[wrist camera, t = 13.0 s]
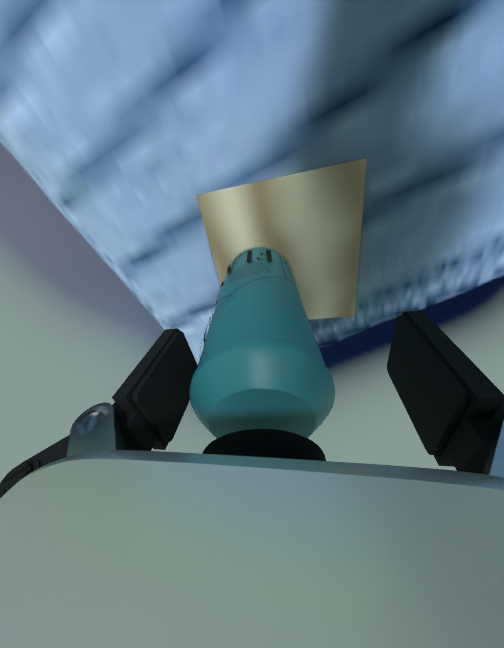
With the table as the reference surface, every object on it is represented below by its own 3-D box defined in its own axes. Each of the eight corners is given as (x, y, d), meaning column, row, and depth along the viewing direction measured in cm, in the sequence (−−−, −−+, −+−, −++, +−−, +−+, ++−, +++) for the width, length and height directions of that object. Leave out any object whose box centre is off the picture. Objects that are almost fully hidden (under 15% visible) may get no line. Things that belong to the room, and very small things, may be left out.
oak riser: (351, 161, 21) (367, 157, 17) (344, 295, 28) (354, 316, 24) (212, 192, 24) (196, 195, 20) (239, 306, 31) (231, 325, 27)
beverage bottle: (277, 228, 20) (378, 469, 3) (300, 289, 23) (412, 571, 6) (215, 258, 22) (64, 524, 5) (245, 311, 25) (217, 584, 8)
